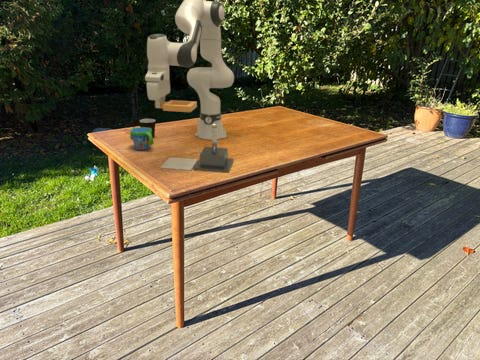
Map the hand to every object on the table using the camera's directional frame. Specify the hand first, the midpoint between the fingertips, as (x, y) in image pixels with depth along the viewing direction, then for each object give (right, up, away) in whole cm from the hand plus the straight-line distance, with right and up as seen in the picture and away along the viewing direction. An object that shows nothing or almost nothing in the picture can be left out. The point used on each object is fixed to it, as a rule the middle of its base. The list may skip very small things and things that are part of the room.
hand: (160, 106), depth 164 cm
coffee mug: (-18, -9, +47) cm, 51 cm away
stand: (+23, -26, +10) cm, 36 cm away
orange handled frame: (+6, -1, -1) cm, 7 cm away
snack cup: (-16, -16, +29) cm, 36 cm away
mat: (+7, -25, +10) cm, 28 cm away
